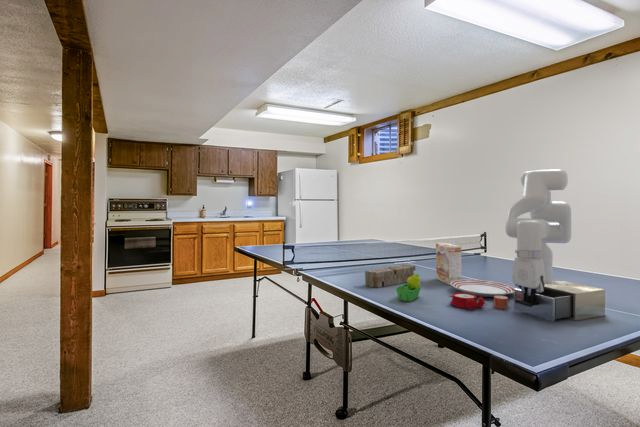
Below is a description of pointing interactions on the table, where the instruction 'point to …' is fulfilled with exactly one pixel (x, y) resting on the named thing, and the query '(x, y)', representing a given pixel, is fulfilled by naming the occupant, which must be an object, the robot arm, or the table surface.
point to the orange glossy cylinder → (501, 302)
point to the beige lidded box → (581, 299)
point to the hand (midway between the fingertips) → (528, 305)
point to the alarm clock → (467, 300)
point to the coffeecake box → (448, 262)
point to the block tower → (389, 275)
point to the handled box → (545, 304)
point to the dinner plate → (482, 287)
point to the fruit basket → (409, 289)
